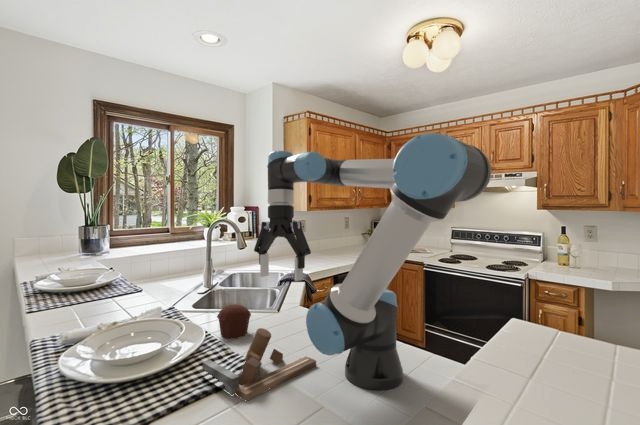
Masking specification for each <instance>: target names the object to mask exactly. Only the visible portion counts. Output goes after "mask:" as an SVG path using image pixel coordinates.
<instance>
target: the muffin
mask: <svg viewBox="0 0 640 425" xmlns="http://www.w3.org/2000/svg"><path fill="white" fill-rule="evenodd" d="M251 316H252V313H251V312H250V310H249V309H248V308H247V307H246V306H243V305H241V304H234V303H233V304H229V305H226V306H224V307H223V308H221V309H220V311H219V312H218V314H217V316H216V318H218V323H219V331H220V335H221V337H222V338H225V339H229V340H230V339H239V338H243V337H245V336H246V335H247V333H248V330H249V323H250V318H251Z"/></svg>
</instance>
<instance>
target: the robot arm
mask: <svg viewBox="0 0 640 425" xmlns="http://www.w3.org/2000/svg"><path fill="white" fill-rule="evenodd" d="M266 167H267V204H268V206H267V218H268V219H269V221H261V227H260V231H259V233H258V236H257V238H256V239H257V240H256V243H255V244H254V245H255V246H254V248H253V252H255V253H257V254H258V256H259V257H258V259H259V260H258V263H259V264H258V265H259V266H260V270H259V275H260V277H263V278H264V277H268V276H269V275H270V272H269V271H270V268H269V266H270V265H269V263H270V262H269V261H270V258H269V255H270V254H269V253H268V251H269V250H270V248H271V247H272V245H273V243H274V242H275V240H276V238H284V239H286V240H287V241H288V244H289V246H290V247H291V248H292V250H293V251H294V252H293V253H295V255H296V256H294V282H299V281H303V280H304V269H305V267H306V266H305V264H306V262H305V261H306V260H305V258H306V256H308V255H311V253H312V251H311V248H310V245H309V243H308V240H307V238H306V236H305V233H304V231H303V226H302V224H303V223H302V222H301V221H300V220H298V221H297V220H296V221H295V220H294V221H293V218H294V215H295V214H294V208H295V207H294V206H293V204H295V203H294V202H295V200H294V199H295V198H294V194H295V193H294V189H295V188H294V185H295V184H297V183H311V184H312V183H313V184H321V185H329V186H336V187H358V188H359V187H360V188H375V189H377V188H379V189H389V191H390V194H391V198H392V200H391V202H390V204H389V205H388V207H386V208H387V209H386V210H385V212H384V213H383V214H382V217H381V218H380V220H379V222H378V223H377V225H376V226H375V228H374V230H373V232H372V233H371V235H370V237H369V238H368V240H367V241H366V244H365V245H364V247H363V248H362V250H361V251H360V253H359V255H358V257H357V258H356V260H355V261H354V263H353V265H352V266H351V268H350V270H349V272H348V273H347V275H346V276H345V278H344V280H343V281H342V283H336V284H334V285H333V286H332V287H331V288H330V290H329V292H328V293H327V294H326V297H325V298H324V300H323V301H322V302H316V303H315V304H312V305H311V306H310V307H309V308H308V309H307V313H306V315H305V316H306V317H305V325H306V331H307V335H308V337H309V339H310V342H311V343H312V345H313V347H315V348H316V350H317V351H318V352H320V353H321V354H323V355H326V356H335V355H340V354H342V353H343V352H346V351H349V353H348V356H347V357H346V358H347V359H346V361H345V365H344V376H345V378H346V379H347V380H348V381H349V382H350V383H352V384H353V385H355V386H358V387H360V388H363V389H369V390H374V391H375V390H376V391H382V390H390V389H393V388H396V387H398V386H399V385H401V384H402V382H403V380H404V371H403V370H404V369H403V366H402V363H401V359H400V357H399V356H400V355H399V353H398V350H397V324H398V323H397V322H398V321H397V320H398V319H397V317H398V316H397V315H398V302H397V295H396V293H395V292H394V291H392V290H389V289H387V288H388V286H389V285H390V283H391V282H392V280H393V279H394V278H395V276H396V275H397V273H398V272H399V270H400V269H401V267H402V266H403V264H404V263H405V261H406V260H407V258H408V257H409V256H410V255H411V253H412V252H413V250H414V249H415V247H416V246H417V244H418V243H419V241H420V239H421V238H422V237H423V235H424V233H425V232H426V231H427V229H428V228H429V226H430V225H431V223H434V222H439V221H443V220H444V219H445V218H446V217H447V215H448V213H449V212H450V211H451V209H452V208H453V206H454V205H455V203H457V202H458V203H459V202H466V201H471V200H472V199H474V198H476V197H478V196H479V195H481V194H482V193H483V192H484V191H485V189H486V188H487V187H488V185H489V183H490V181H491V177H492V166H491V162H490V161H489V158H488V157H487V155H486V154H485V153H484V152H483V151H482V150H481V149H479V148H478V147H476V146H474V145H472V144H468V143H466V142H463V141H461V140H459V139H457V138H455V137H453V136H450V135H448V134H443V133H437V132H427V133H422V134H420V135H416V136H414V137H413V138H412V137H411V139H410V140H408V141H407V142H406V143H404V144H403V145H402V147H401V148H400V149H399V150H398V152H397V154H396V156H395V158H371V159H370V158H369V159H368V158H367V159H364V158H363V159H361V158H360V159H334V158H327V157H324V156H323V155H321V154H320V153H319V152H318V151H304V152H302V153H298V154H296V155H294V153H293V152H291V151H287V150H274V151H271V152H270V153H269V154H268V156H267V166H266Z"/></svg>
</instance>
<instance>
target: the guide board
mask: <svg viewBox="0 0 640 425" xmlns="http://www.w3.org/2000/svg"><path fill="white" fill-rule="evenodd" d="M314 367H317V359H313V358H311V357H308V356H304V357H301V358H299V359H297V360H294V361H293V362H290V363H288V364H286V365H284V366H281V367H279V368H277V369H275V370H273V371H270V372H269V373H267V374H264V375H261V376H259V377H258V378H257V377H256V378H255V380H253V381H252V382H251V383H246V384H244V385H242V386H241V385H240V384H239V379H240V375H239V374H236V373H234V372H233V371H231V370H229V369H227V368H226V367H224V366H221V364H219V363H216V362H214V361H213V360H210V359H208V360H205V361H202V370H203V369H204V370H205V371H206V372H208V373H209V374H210V375H212V376H213V377H215V378H216V379H218V380H219V381H221V382H223V383H224V386H225V390H226V391H227V392H229V393H230V394H231V395H233V394H235V393H236V394H237V395H238V396H239V397H238V396H237V395H236V396H237V397H238V398H240V397H241V398H242V399H241V398H240V399H241V400H243V399H244V400H243V401H245V400H247V401H249V400H251V399H253V398H255V397H257V396H259V395H261V394H263V393H265V392H267V391H269V390H270V389H269V388H271V389H273V388H275V387H277V386H279V385H281V384H283V383H284V382H287V381H289V380H291V379H293V378H295V377H298V376H299V375H301V374H303V373H305V372H307V371H308V370H311V369H312V368H314ZM282 382H283V383H282ZM280 383H281V384H280ZM278 384H279V385H278ZM276 385H277V386H276ZM274 386H275V387H274ZM272 387H273V388H272ZM268 389H269V390H268ZM266 390H267V391H266ZM264 391H265V392H264ZM262 392H263V393H262ZM256 395H257V396H256ZM254 396H255V397H254ZM252 397H253V398H252ZM250 398H251V399H250ZM248 399H249V400H248Z"/></svg>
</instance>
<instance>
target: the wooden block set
mask: <svg viewBox="0 0 640 425" xmlns="http://www.w3.org/2000/svg"><path fill="white" fill-rule="evenodd" d="M271 338H272V333H271V332H270V331H269V330H268V329H265V328H257V329H256V332H255V334H254V336H253V338H252V341H251V343H250V346H249V348H248V350H247V353H246V355H245V358H244V360H245V359H246V362H245V364H244V365H243V367H242V369H243V372H242V374H241V373H240V376H239V386H242V385H244V384H246V383H251V382H252V381H253V380H255V379H257V376H258V373H259V371H260V369H261V366H262V365H263V364H262V359H263V356H264V355H265V351H266V349H267V347H268V345H269V342H270V340H271ZM283 357H284V353H282V352H280V351H279V350H277V349H276V348H273V350H272V353H271V355H270V357H269V359H270V361H273V362H274V363H276V364H277V365H279V364H280V363H281V362H282V361H283V359H284V358H283Z"/></svg>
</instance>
